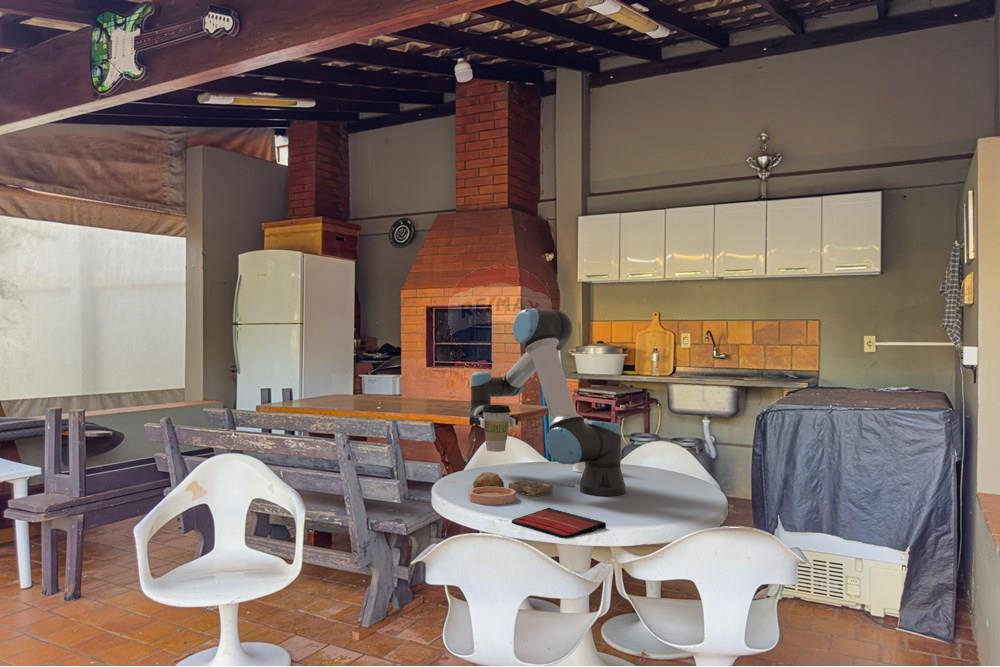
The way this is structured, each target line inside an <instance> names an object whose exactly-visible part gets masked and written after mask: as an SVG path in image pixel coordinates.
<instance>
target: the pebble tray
mask: <svg viewBox="0 0 1000 667" xmlns="http://www.w3.org/2000/svg"><path fill="white" fill-rule="evenodd" d="M508 488H510V489H513V490H515V491H516V493H517V492H520V493H519V494H521V493H524V494H523V495H526V494H529V495H528V496H530V495H533V496H532V497H534V496H536V497H538V496H537V495H540V496H543V495H542V494H545V495H548V494H547V493H550V494H552V493H553V486H552V485H550V484H545V483H540V482H536V481H530V480H527V479H525V480H518V481H512V482H508Z"/></svg>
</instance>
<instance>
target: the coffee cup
mask: <svg viewBox="0 0 1000 667" xmlns="http://www.w3.org/2000/svg"><path fill="white" fill-rule="evenodd" d="M482 412H483V417H484V420H485V428H483V429H484V439H485V445H486V446H485V447H486V451H487V452H492V453H493V452H494V453H495V452H496V453H497V452H498V453H499V452H501V453H502V452H505V451H506V444H507V440H508V434H509V416H510V413H512V412H511V409H510V406H509V405H505V404H491V405H485V406H484V408H483V409H482Z"/></svg>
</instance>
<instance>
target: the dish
mask: <svg viewBox="0 0 1000 667" xmlns="http://www.w3.org/2000/svg"><path fill="white" fill-rule="evenodd" d="M467 494H468V497H467V499H468V500H469V501H470V502H471V503H474V504H479V505H488V506H489V505H490V506H498V505H497V504H499V505H507V504H506V503H508V504H511V502H512V503H514V502H515V501H516V500H517V492H516V491H515V490H513V489H510V488H509V487H505V486H504V487H494V486H491V487H478V488H474V487H473V488H470V489H469V490H468V493H467Z"/></svg>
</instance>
